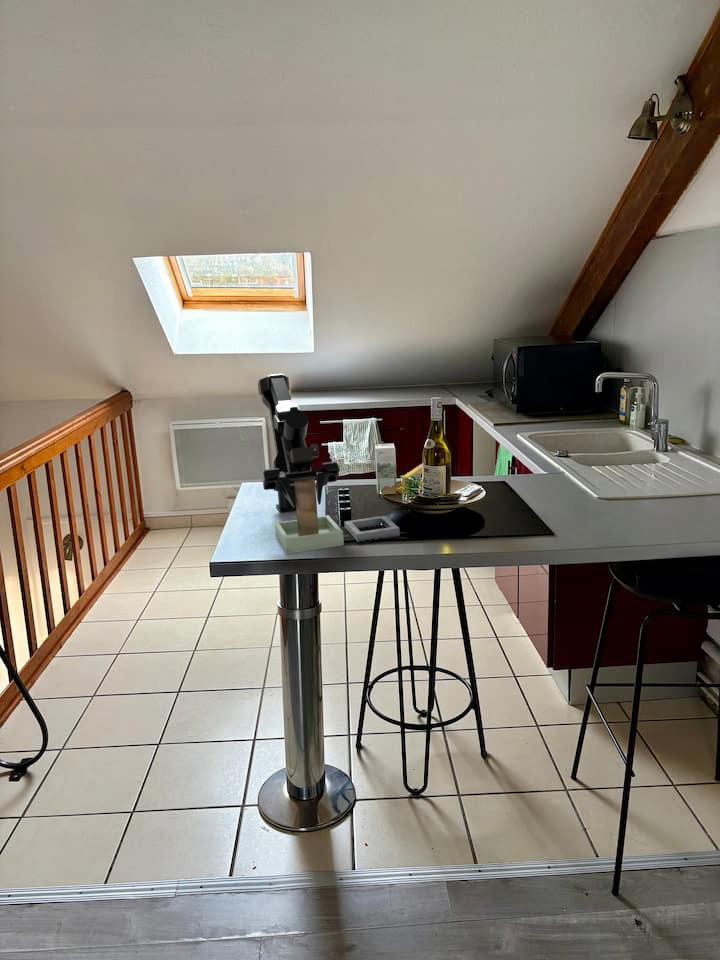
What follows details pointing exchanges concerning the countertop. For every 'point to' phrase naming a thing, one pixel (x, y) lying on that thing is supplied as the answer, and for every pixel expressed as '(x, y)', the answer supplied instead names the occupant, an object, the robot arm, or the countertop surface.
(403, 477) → the candy box
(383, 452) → the syrup box
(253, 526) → the countertop surface
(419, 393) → the countertop surface
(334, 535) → the tray
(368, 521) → the steel collar
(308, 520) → the lock pin
